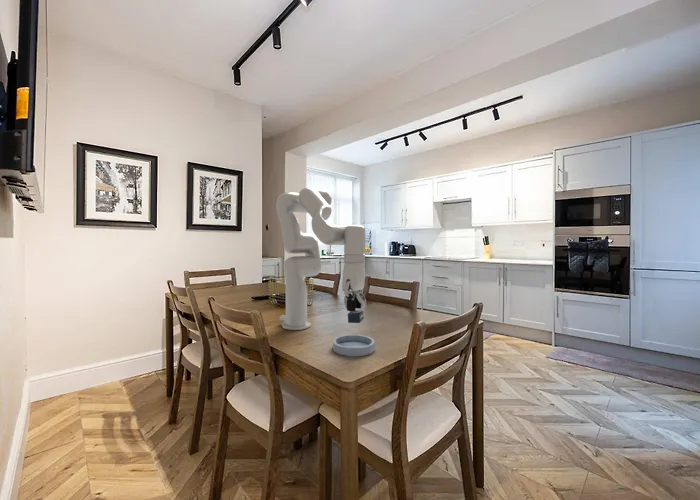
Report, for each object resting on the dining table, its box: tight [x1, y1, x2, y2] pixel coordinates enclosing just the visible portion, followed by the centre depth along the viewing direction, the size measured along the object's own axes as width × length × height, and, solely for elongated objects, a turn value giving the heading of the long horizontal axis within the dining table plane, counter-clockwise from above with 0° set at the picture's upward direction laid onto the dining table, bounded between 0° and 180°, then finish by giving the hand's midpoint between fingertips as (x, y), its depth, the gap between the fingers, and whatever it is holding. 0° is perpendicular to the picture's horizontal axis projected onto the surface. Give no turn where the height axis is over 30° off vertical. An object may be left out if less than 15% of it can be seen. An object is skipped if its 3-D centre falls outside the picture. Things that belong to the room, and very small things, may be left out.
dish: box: [332, 334, 376, 357], centre depth 119 cm, size 15×15×3 cm
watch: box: [343, 291, 367, 324], centre depth 118 cm, size 6×8×11 cm
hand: (354, 309), depth 118 cm, fingers closed on watch, 4 cm apart
